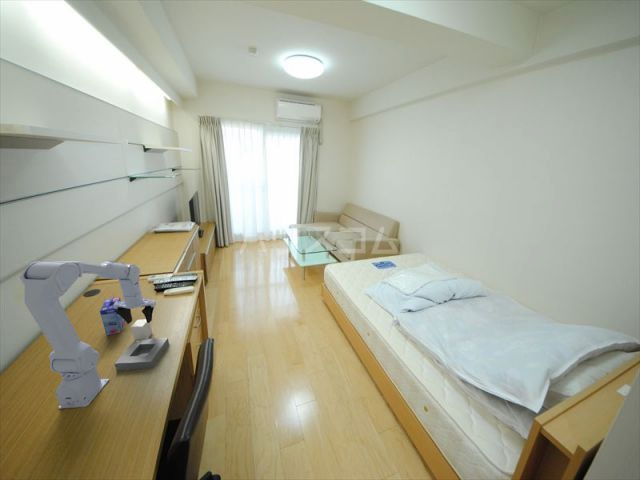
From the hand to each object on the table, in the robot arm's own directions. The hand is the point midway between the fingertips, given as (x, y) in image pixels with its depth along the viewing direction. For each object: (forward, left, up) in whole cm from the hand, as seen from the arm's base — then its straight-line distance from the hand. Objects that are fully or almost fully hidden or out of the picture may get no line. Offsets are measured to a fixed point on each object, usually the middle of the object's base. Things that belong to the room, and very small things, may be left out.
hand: (139, 321), depth 99 cm
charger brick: (0, 0, -8) cm, 8 cm away
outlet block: (-11, -6, -7) cm, 15 cm away
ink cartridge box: (+7, +15, -8) cm, 18 cm away
